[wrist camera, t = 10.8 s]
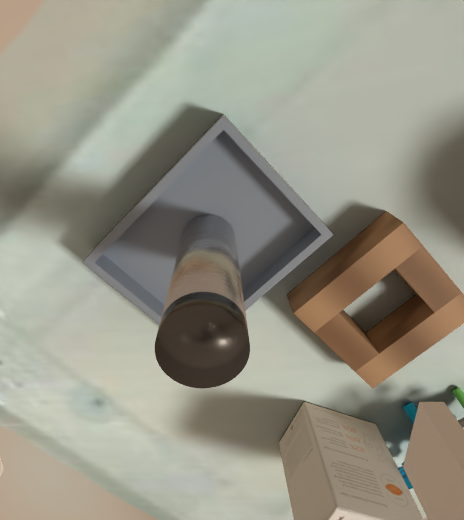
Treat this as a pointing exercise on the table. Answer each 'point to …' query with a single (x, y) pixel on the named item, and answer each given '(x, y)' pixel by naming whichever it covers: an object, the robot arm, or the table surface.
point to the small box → (342, 469)
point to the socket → (363, 278)
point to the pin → (204, 308)
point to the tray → (217, 203)
